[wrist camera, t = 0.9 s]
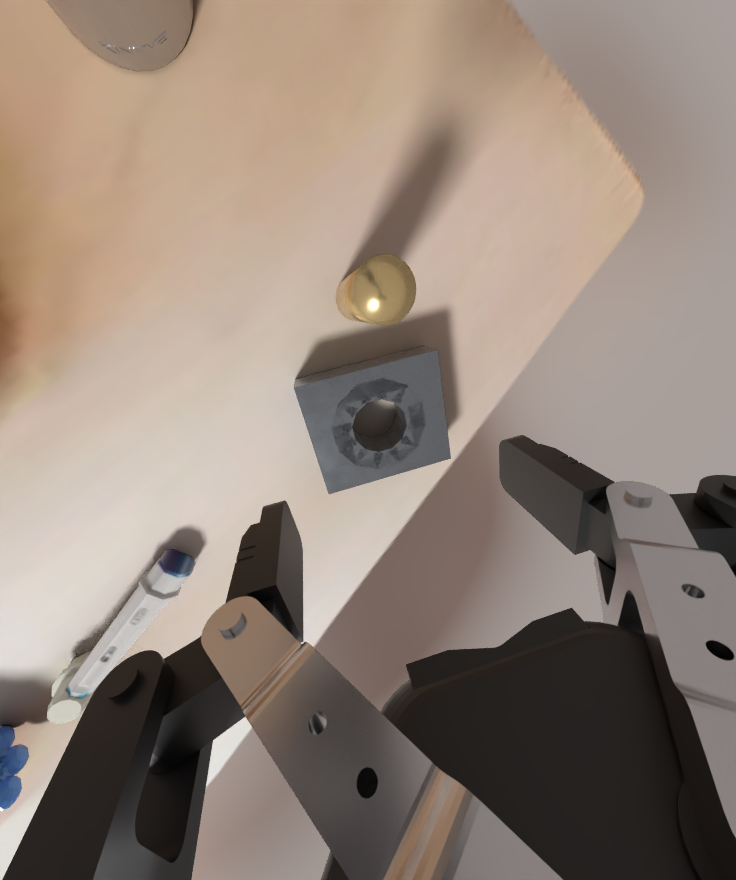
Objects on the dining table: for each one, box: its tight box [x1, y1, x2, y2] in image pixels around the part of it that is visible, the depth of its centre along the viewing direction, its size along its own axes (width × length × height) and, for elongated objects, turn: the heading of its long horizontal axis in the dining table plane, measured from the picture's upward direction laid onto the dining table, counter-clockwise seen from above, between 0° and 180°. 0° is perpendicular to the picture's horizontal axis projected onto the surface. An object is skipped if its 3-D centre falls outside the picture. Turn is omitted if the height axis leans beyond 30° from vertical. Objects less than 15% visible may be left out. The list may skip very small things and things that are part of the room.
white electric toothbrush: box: [47, 549, 195, 724], centre depth 37 cm, size 5×7×25 cm
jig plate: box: [294, 346, 451, 494], centre depth 33 cm, size 12×14×4 cm
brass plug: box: [336, 254, 416, 325], centre depth 25 cm, size 4×4×12 cm
